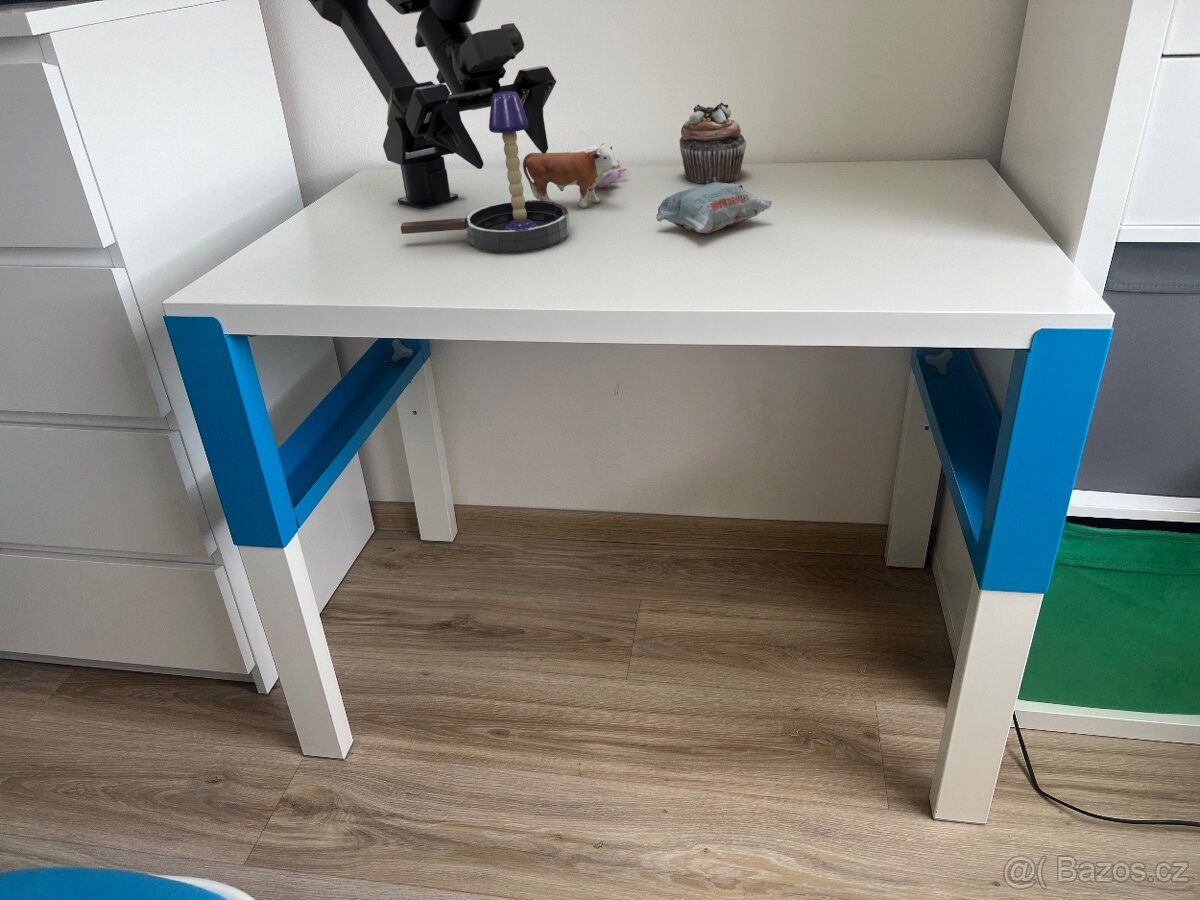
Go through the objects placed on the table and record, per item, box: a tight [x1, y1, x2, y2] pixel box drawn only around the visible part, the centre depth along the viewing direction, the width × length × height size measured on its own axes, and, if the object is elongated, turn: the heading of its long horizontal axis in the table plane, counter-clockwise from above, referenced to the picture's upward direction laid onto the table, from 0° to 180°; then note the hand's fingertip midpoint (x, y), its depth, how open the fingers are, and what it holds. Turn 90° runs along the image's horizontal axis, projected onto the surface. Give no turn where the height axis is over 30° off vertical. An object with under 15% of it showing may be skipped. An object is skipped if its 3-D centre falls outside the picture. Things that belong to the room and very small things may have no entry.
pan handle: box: [400, 217, 466, 235], centre depth 109 cm, size 8×2×1 cm, turn 93°
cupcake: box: [679, 102, 748, 185], centre depth 126 cm, size 10×10×10 cm
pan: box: [464, 199, 571, 254], centre depth 109 cm, size 13×13×3 cm
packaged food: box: [655, 182, 773, 234], centre depth 108 cm, size 9×12×5 cm
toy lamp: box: [488, 91, 537, 230], centre depth 105 cm, size 5×5×17 cm
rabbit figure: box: [597, 142, 627, 189], centre depth 127 cm, size 6×6×15 cm
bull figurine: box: [522, 144, 620, 209], centre depth 118 cm, size 4×13×8 cm, turn 76°
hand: (514, 158), depth 104 cm, fingers open, 9 cm apart
